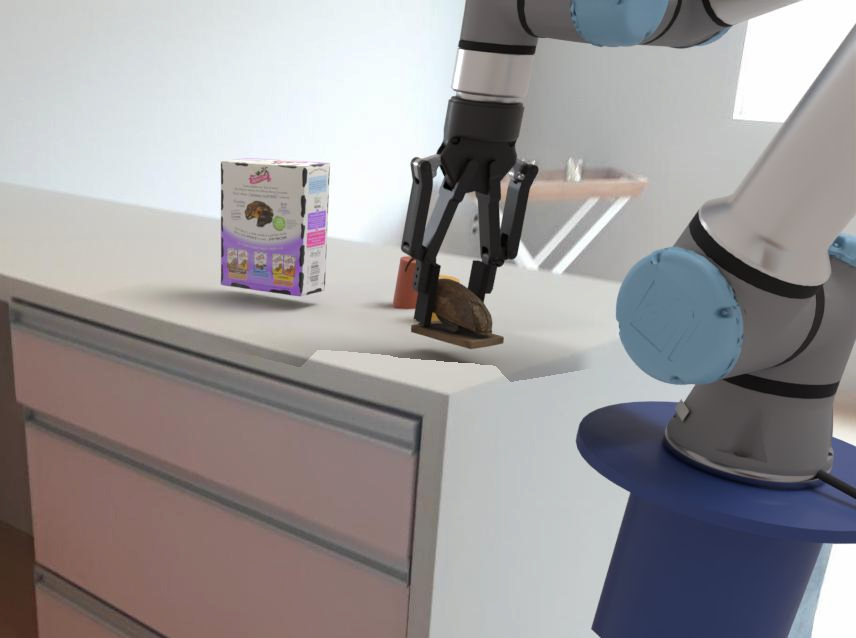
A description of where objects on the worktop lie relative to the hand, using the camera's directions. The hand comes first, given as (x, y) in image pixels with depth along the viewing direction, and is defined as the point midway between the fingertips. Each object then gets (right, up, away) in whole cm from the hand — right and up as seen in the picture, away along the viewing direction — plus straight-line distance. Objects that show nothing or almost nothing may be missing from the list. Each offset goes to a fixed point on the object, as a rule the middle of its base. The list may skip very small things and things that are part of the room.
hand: (446, 321), depth 126 cm
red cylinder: (+1, +6, +25) cm, 26 cm away
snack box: (-16, +9, +28) cm, 34 cm away
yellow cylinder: (+3, +2, +18) cm, 18 cm away
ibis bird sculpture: (0, -2, +1) cm, 2 cm away
